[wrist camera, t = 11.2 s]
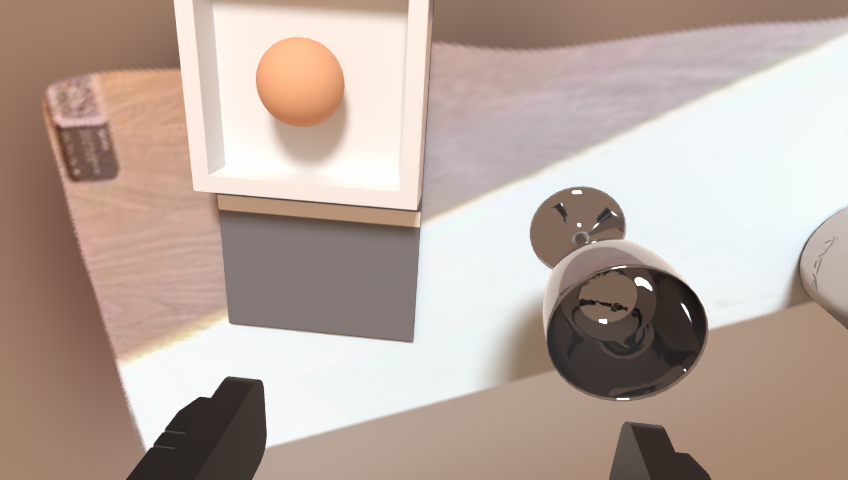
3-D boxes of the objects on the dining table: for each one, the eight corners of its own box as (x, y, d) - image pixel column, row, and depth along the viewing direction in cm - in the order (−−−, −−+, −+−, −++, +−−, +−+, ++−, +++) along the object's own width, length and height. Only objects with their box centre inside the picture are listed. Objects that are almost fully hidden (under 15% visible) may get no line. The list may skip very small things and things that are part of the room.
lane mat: (437, -60, 35) (437, -61, 35) (413, 339, 47) (412, 342, 46) (197, -73, 36) (193, -74, 36) (231, 320, 48) (228, 323, 47)
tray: (436, -43, 35) (431, -50, 32) (421, 194, 41) (416, 210, 38) (195, -57, 36) (166, -65, 33) (216, 177, 42) (193, 190, 39)
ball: (353, 38, 37) (331, 41, 32) (352, 122, 39) (332, 138, 34) (272, 32, 37) (237, 35, 32) (276, 115, 39) (244, 131, 34)
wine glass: (552, 165, 40) (591, 242, 26) (651, 205, 40) (741, 302, 26) (507, 256, 43) (520, 370, 29) (600, 292, 43) (656, 421, 29)
